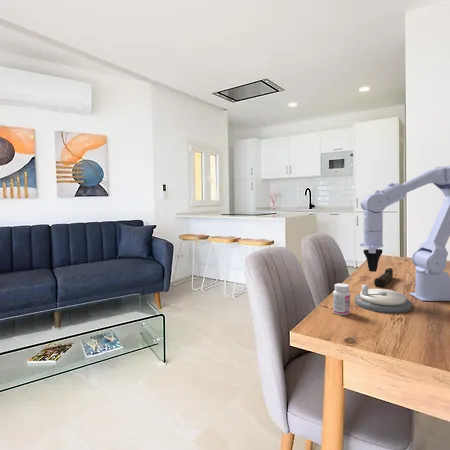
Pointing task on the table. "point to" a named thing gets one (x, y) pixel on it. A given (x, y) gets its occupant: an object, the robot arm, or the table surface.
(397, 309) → the dial base
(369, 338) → the table surface
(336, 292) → the pill bottle
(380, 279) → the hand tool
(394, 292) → the dial
